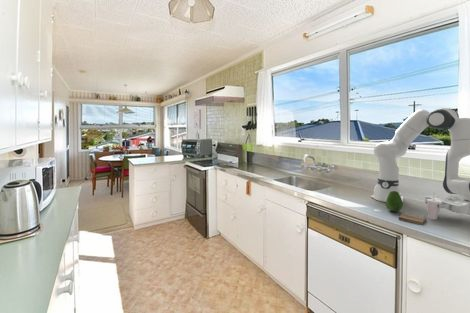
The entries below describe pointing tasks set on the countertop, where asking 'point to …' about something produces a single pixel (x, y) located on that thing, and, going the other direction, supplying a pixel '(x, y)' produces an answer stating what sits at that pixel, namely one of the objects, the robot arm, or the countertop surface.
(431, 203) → the smoothie
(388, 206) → the avocado
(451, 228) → the countertop surface
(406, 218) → the coaster board
